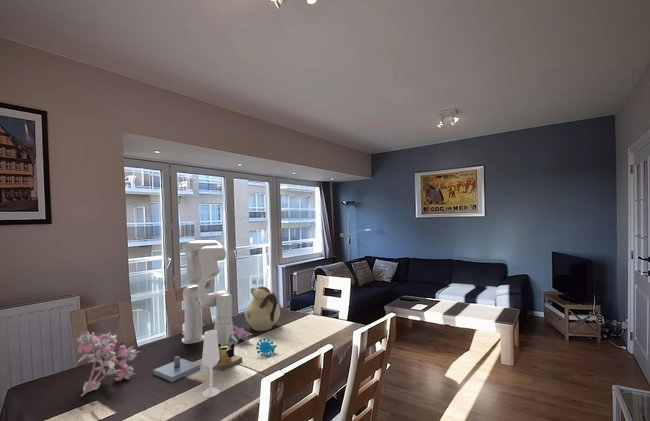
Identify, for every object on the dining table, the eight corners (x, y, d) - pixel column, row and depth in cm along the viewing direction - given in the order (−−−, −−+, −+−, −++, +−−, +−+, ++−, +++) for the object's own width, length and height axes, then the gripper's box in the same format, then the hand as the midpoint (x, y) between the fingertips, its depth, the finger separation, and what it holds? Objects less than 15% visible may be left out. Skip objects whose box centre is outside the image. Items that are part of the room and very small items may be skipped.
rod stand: (205, 365, 153) (205, 352, 153) (225, 356, 163) (225, 344, 164) (222, 371, 147) (222, 357, 147) (242, 361, 157) (242, 348, 157)
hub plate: (153, 374, 145) (153, 359, 145) (181, 362, 157) (181, 349, 157) (171, 381, 137) (171, 366, 138) (199, 369, 149) (199, 354, 149)
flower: (118, 397, 123) (137, 328, 135) (53, 397, 119) (78, 327, 131) (135, 395, 140) (150, 335, 152) (79, 395, 137) (99, 333, 149)
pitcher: (252, 321, 220) (252, 285, 221) (285, 322, 217) (285, 285, 217) (239, 333, 198) (239, 292, 198) (276, 334, 194) (276, 293, 195)
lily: (253, 345, 180) (256, 328, 185) (235, 342, 173) (238, 324, 178) (242, 347, 187) (245, 330, 192) (224, 344, 180) (227, 326, 186)
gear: (257, 356, 158) (255, 337, 165) (254, 362, 162) (252, 343, 169) (278, 355, 163) (276, 336, 170) (275, 360, 166) (273, 342, 173)
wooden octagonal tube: (214, 360, 154) (214, 349, 154) (225, 355, 160) (225, 345, 160) (223, 363, 151) (223, 352, 151) (234, 358, 156) (234, 347, 156)
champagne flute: (202, 398, 124) (202, 335, 125) (201, 390, 130) (201, 330, 131) (220, 394, 126) (220, 333, 127) (218, 386, 133) (218, 328, 134)
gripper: (206, 318, 157) (206, 354, 157) (230, 324, 148) (230, 361, 147) (218, 314, 164) (218, 348, 163) (242, 319, 154) (242, 355, 154)
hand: (224, 354), depth 155 cm, fingers open, 9 cm apart
